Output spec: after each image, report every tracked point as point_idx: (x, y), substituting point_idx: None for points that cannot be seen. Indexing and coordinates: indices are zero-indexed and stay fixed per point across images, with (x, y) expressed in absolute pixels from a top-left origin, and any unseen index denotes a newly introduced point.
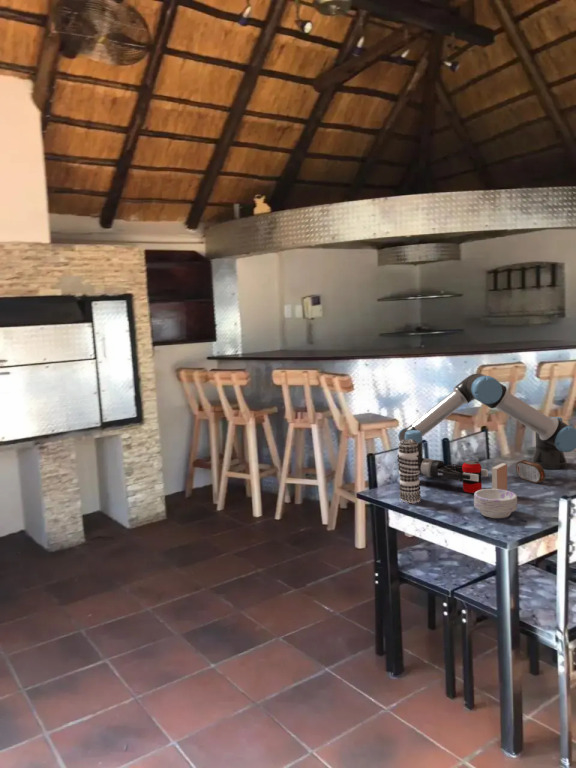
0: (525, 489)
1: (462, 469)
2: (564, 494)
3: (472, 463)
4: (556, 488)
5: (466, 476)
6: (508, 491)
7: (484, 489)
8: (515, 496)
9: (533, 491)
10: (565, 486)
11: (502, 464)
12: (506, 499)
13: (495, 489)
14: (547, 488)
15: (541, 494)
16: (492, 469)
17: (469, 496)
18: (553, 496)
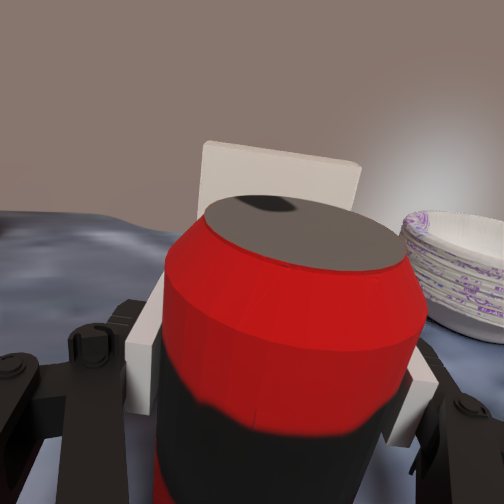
0: (70, 280)
1: (388, 386)
2: (117, 218)
3: (338, 218)
4: (40, 227)
5: (433, 362)
6: (415, 219)
7: (501, 260)
8: (439, 211)
9: (100, 262)
10: (7, 215)
11: (236, 146)
12: (496, 220)
13: (443, 240)
14: (42, 239)
15: (138, 248)
16: (358, 176)
17: (364, 484)
18: (151, 231)
